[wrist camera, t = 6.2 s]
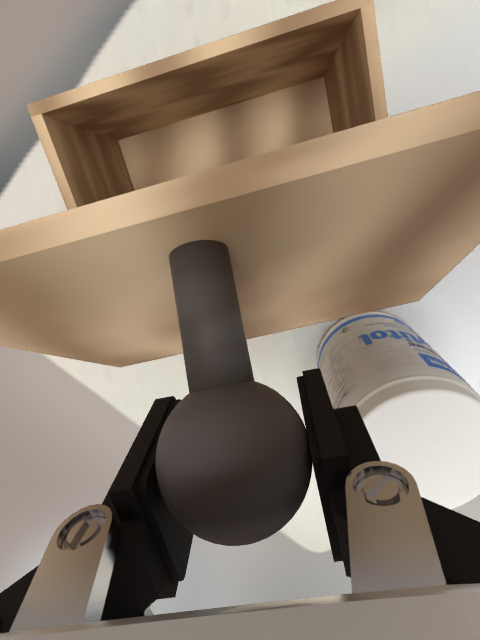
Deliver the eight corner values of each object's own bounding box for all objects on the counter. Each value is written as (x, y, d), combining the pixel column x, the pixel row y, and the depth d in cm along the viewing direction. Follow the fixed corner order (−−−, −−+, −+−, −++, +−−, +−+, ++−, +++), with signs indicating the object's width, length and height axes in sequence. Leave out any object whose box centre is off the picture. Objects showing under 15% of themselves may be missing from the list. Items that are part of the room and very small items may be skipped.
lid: (633, 46, 7) (892, 500, 5) (414, 287, 21) (458, 426, 20) (-182, 282, 9) (-217, 645, 7) (118, 355, 24) (132, 484, 22)
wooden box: (328, 68, 29) (371, -12, 17) (359, 258, 33) (409, 292, 22) (112, 136, 31) (26, 104, 20) (168, 304, 36) (124, 357, 24)
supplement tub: (420, 306, 34) (527, 384, 20) (412, 397, 37) (500, 518, 24) (313, 311, 35) (346, 390, 21) (314, 400, 38) (343, 520, 24)
